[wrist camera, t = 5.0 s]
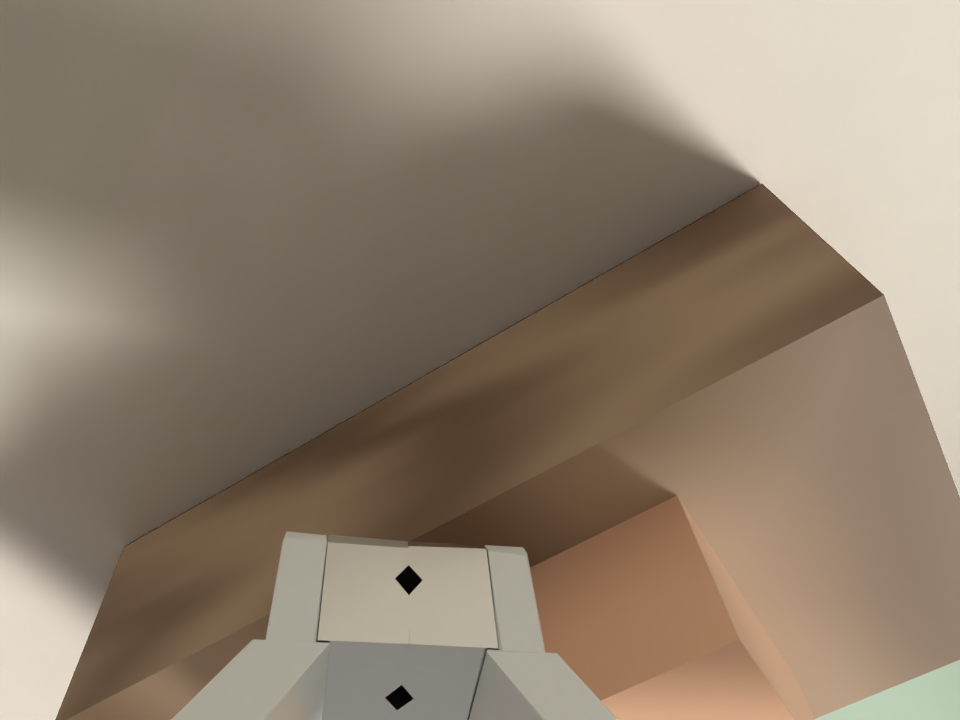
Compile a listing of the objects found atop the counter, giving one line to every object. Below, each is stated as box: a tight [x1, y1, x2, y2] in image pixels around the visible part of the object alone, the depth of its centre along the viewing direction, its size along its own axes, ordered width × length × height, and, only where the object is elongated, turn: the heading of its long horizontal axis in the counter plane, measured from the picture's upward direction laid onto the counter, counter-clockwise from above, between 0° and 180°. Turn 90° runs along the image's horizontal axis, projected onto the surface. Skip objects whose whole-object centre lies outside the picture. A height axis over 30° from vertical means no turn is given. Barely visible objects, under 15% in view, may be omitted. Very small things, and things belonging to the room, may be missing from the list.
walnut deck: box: [56, 184, 960, 720], centre depth 15 cm, size 14×8×4 cm, turn 121°
